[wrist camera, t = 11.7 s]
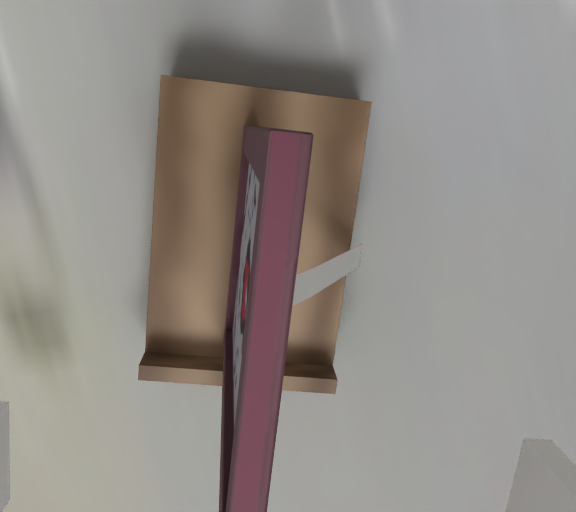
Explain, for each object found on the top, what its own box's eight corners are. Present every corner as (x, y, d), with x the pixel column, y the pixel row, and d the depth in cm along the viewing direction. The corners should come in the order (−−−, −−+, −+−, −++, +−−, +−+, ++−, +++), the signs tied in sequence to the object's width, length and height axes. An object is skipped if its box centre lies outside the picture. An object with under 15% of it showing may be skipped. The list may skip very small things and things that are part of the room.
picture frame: (243, 125, 37) (234, 123, 13) (377, 141, 38) (595, 166, 14) (223, 340, 41) (187, 644, 17) (345, 350, 42) (474, 651, 18)
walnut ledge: (360, 104, 42) (379, 100, 35) (323, 358, 47) (335, 393, 40) (169, 79, 40) (154, 71, 34) (153, 345, 45) (138, 379, 39)
